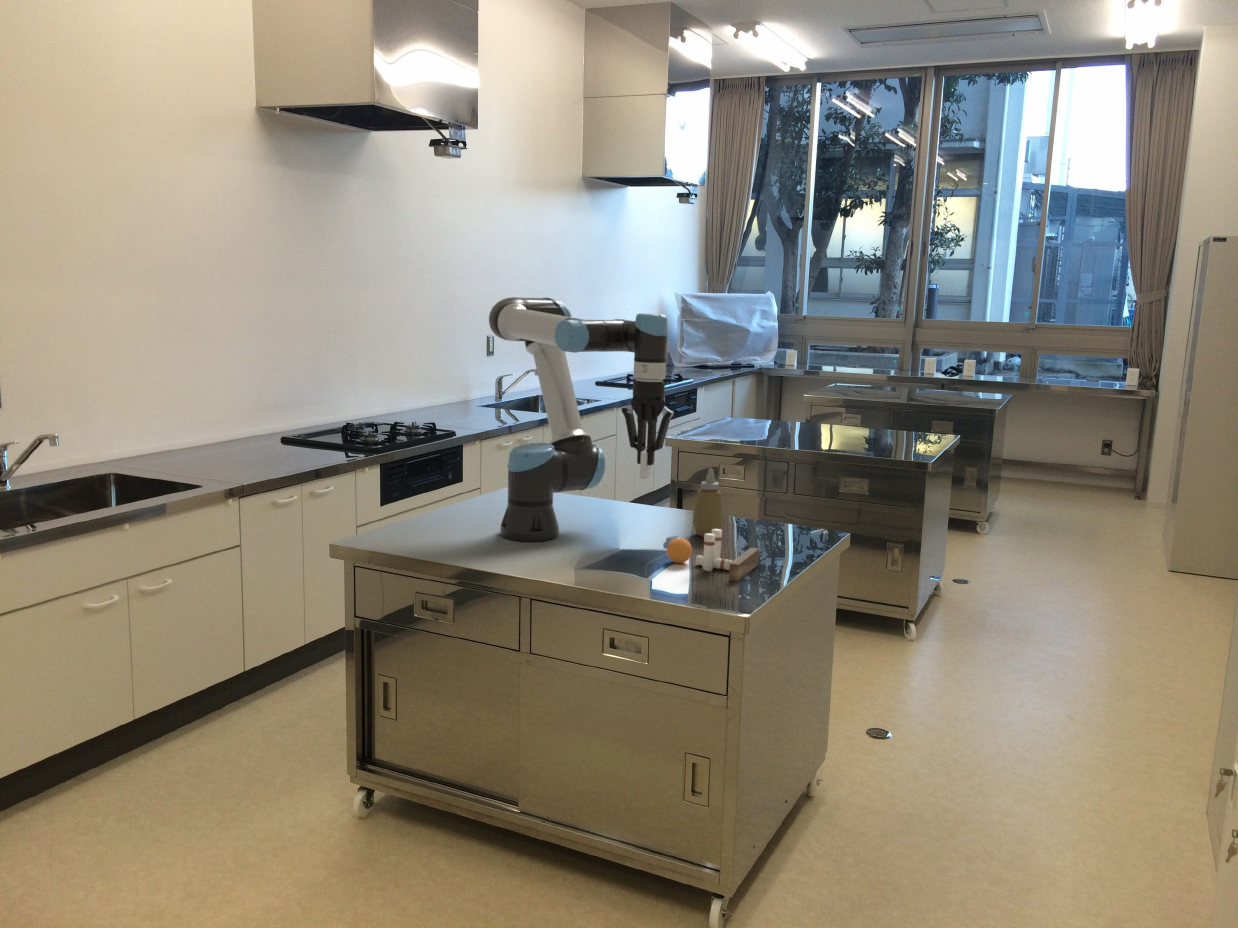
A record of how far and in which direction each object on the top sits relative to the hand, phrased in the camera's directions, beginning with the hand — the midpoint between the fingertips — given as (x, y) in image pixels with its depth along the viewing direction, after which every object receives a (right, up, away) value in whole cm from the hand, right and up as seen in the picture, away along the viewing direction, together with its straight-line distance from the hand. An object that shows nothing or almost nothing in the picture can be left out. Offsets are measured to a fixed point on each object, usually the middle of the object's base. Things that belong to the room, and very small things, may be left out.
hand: (644, 477), depth 234 cm
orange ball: (+8, -17, -2) cm, 19 cm away
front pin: (+12, -20, -3) cm, 23 cm away
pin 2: (+17, -21, -2) cm, 27 cm away
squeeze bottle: (+17, -16, +26) cm, 35 cm away
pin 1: (+15, -21, -6) cm, 27 cm away
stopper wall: (+23, -22, -7) cm, 32 cm away
